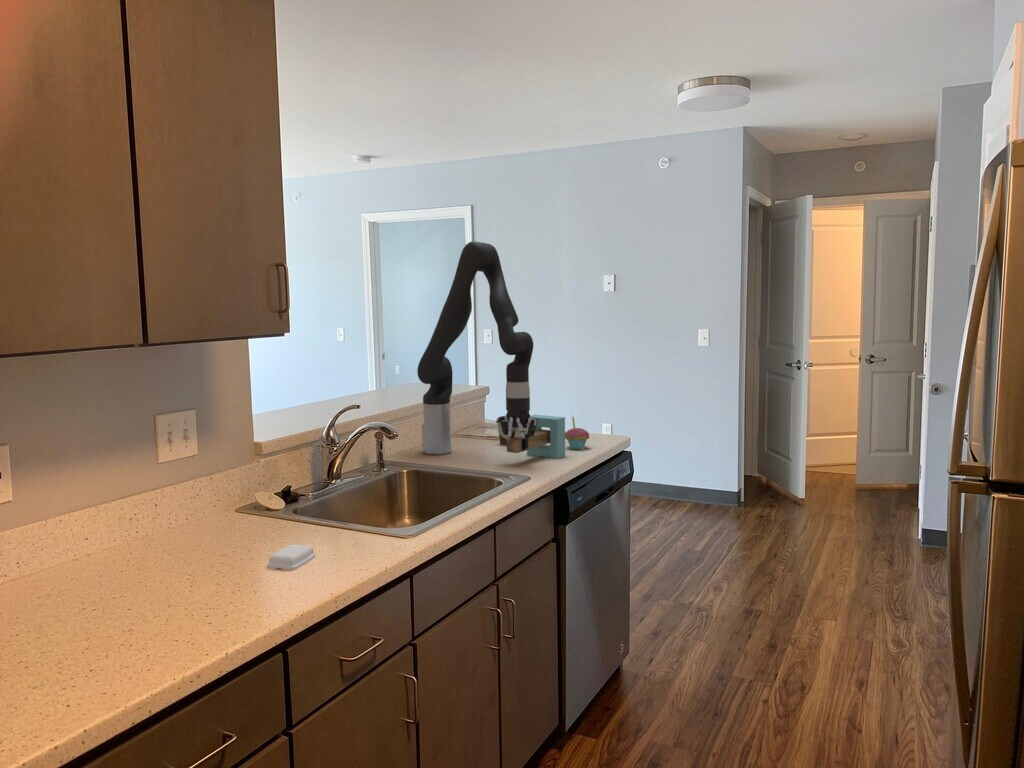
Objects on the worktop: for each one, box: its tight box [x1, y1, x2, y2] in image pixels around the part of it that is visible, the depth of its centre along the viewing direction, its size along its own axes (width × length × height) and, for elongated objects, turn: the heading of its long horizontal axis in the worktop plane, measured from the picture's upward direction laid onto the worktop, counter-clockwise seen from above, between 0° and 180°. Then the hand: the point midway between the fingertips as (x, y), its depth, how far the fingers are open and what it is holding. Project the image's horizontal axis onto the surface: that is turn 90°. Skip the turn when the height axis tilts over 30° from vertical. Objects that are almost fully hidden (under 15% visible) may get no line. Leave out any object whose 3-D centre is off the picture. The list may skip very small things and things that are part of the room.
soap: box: [266, 544, 317, 571], centre depth 153 cm, size 9×7×3 cm
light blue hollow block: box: [526, 414, 566, 460], centre depth 250 cm, size 12×5×13 cm, turn 55°
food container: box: [495, 416, 524, 447], centre depth 269 cm, size 12×6×10 cm, turn 58°
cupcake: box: [565, 414, 590, 450], centre depth 261 cm, size 9×8×12 cm
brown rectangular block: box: [506, 429, 550, 454], centre depth 243 cm, size 4×20×4 cm, turn 145°
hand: (518, 449), depth 238 cm, fingers closed on brown rectangular block, 4 cm apart
